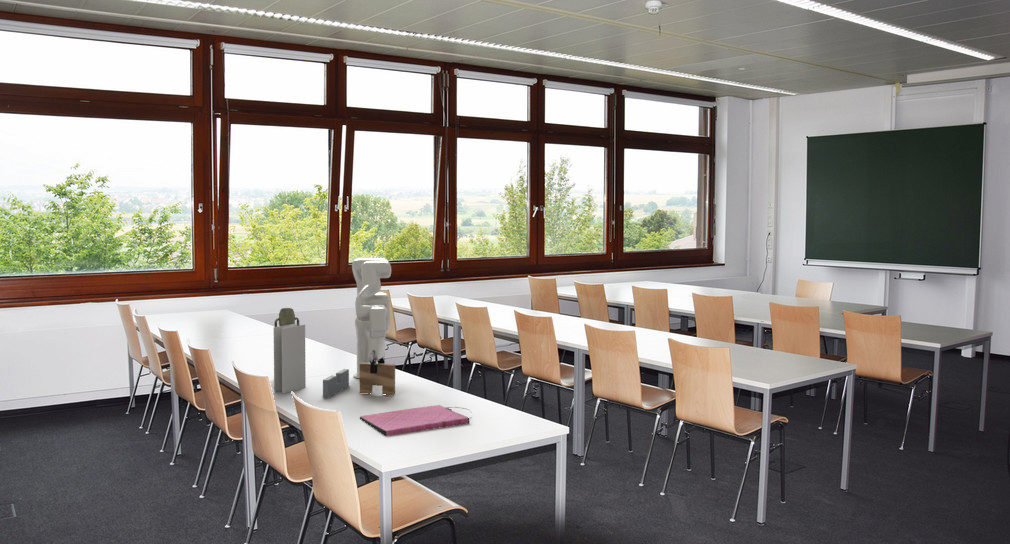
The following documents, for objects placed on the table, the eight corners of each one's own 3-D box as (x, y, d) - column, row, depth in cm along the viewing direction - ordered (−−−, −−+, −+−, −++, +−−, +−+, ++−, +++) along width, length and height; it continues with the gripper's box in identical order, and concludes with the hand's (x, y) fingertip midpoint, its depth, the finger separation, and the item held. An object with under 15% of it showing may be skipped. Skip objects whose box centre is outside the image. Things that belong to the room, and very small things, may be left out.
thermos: (272, 378, 373) (271, 308, 370) (295, 375, 380) (295, 306, 377) (278, 381, 366) (277, 310, 363) (302, 378, 373) (301, 308, 370)
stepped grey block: (343, 385, 360) (343, 369, 359) (348, 385, 359) (348, 369, 359) (322, 397, 336) (322, 379, 336) (328, 397, 336) (328, 380, 335)
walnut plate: (362, 392, 347) (362, 362, 346) (395, 394, 344) (395, 364, 343) (359, 393, 344) (359, 363, 343) (392, 395, 341) (393, 365, 340)
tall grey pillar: (297, 386, 357) (296, 323, 355) (305, 387, 355) (305, 324, 352) (274, 391, 345) (273, 327, 343) (282, 393, 342) (282, 328, 340)
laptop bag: (385, 427, 280) (359, 411, 303) (385, 437, 281) (359, 421, 304) (478, 412, 301) (447, 399, 324) (478, 422, 301) (447, 408, 324)
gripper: (376, 331, 351) (376, 367, 352) (362, 336, 334) (362, 374, 335) (391, 331, 350) (391, 367, 351) (378, 337, 333) (378, 375, 334)
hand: (377, 371), depth 343 cm, fingers open, 9 cm apart
